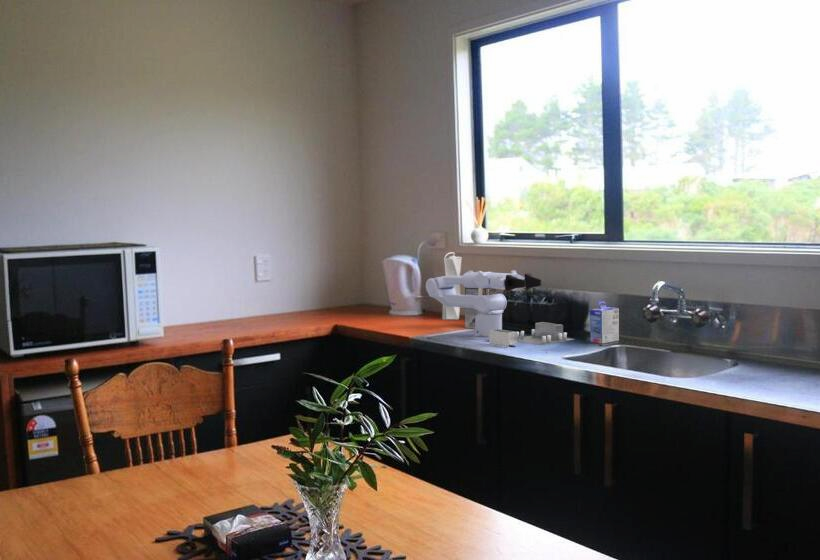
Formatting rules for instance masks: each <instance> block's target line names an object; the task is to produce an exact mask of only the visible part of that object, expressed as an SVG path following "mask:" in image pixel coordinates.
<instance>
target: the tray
mask: <svg viewBox="0 0 820 560" xmlns="http://www.w3.org/2000/svg"><path fill="white" fill-rule="evenodd" d="M516 332H517V343H518V342H520V343H525V344H532V345H537V346H546V345H552V344H557V343H562V342H567V341H575V340H576V339H575V338H570V337H567V335H568V332H564V331H563V339H562V333H558V340H551V335H547V339H546V336H542V338H537V337H535V328H532V329H531V335H528V336H525V331H524V330H521V331H520V332H519V331H516Z"/></svg>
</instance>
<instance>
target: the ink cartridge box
mask: <svg viewBox="0 0 820 560" xmlns="http://www.w3.org/2000/svg"><path fill="white" fill-rule="evenodd" d="M597 304H598V307H597V308H593V309H590V310H589V327H590V328H589V329H590V331H589V333H590V335H589V336H590V342H591V343H596V344H598V346H600V347H603V346H609V345H614V344H619V342H620V338H619V337H620V335H619V333H620V330H619V329H620V327H619V326H620V323H619V322H620V321H619V319H620V316H619V315H620V312H619V311H620V310H619V309H620V308H619V307H612V306H608V305H607V303H606V302H605V300H603V301H598V302H597ZM601 304H602V305H601Z"/></svg>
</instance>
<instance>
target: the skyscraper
mask: <svg viewBox="0 0 820 560" xmlns="http://www.w3.org/2000/svg"><path fill="white" fill-rule="evenodd" d="M450 254H453V255H452V256H448V255H450ZM455 254H456V253H455V252H454V251H451V252H448V253H446V254H445V256H444V258H443V261H444V272H445V276H450V275H455V276H461V269H462V260H463V259H462V257H461V256H456V255H455ZM447 256H448V257H447ZM455 291H456V294H459V295H461V284H455ZM441 305H442V307H441V308H442V309H441V320H442V321H459V319H460V313H461V307H451V306H444V305H443V304H442V303H441Z"/></svg>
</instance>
